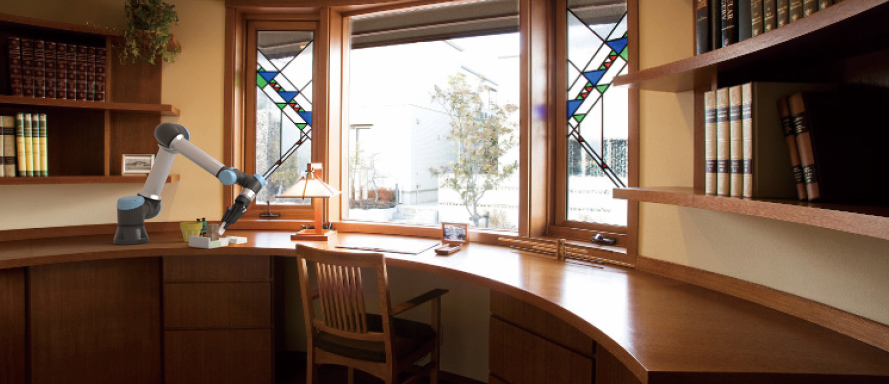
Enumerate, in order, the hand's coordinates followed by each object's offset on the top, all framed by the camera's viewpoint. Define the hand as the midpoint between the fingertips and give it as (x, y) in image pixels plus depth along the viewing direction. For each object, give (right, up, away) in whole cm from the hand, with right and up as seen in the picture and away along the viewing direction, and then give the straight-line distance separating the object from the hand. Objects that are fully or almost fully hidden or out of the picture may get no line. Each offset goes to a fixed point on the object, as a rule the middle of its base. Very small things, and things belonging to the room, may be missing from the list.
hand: (218, 233), depth 251 cm
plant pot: (-19, -5, +10) cm, 22 cm away
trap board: (0, -5, +2) cm, 6 cm away
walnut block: (-2, -3, -3) cm, 4 cm away
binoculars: (-25, -4, +29) cm, 38 cm away
